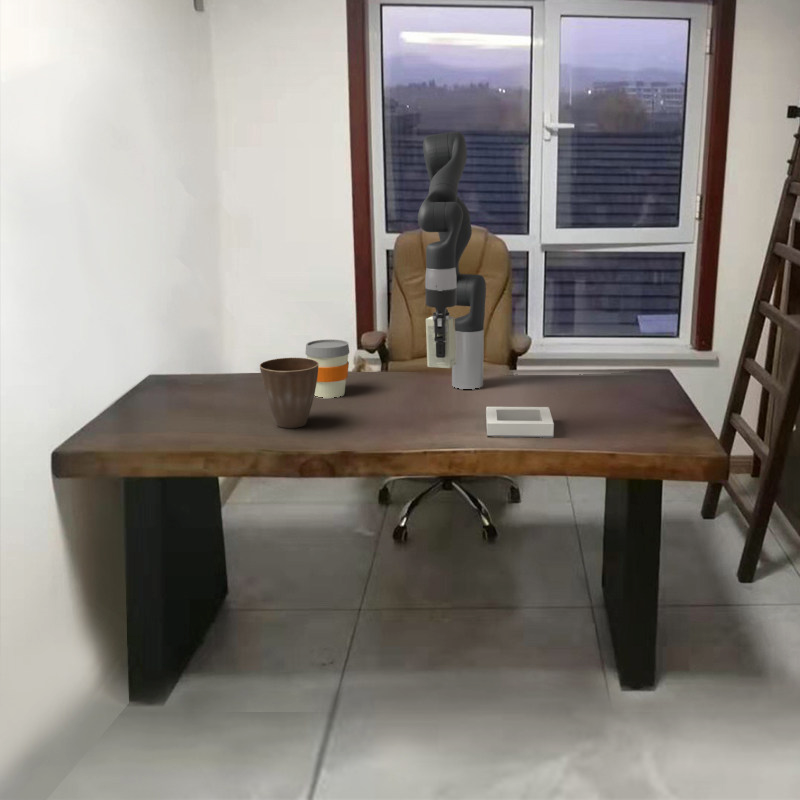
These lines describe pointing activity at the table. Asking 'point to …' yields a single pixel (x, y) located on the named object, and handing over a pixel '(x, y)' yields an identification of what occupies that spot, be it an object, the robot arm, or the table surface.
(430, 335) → the skincare box
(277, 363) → the plant pot
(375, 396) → the table surface
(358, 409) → the table surface
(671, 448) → the table surface
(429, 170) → the robot arm
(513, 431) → the holder
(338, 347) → the reusable coffee cup
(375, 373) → the table surface
